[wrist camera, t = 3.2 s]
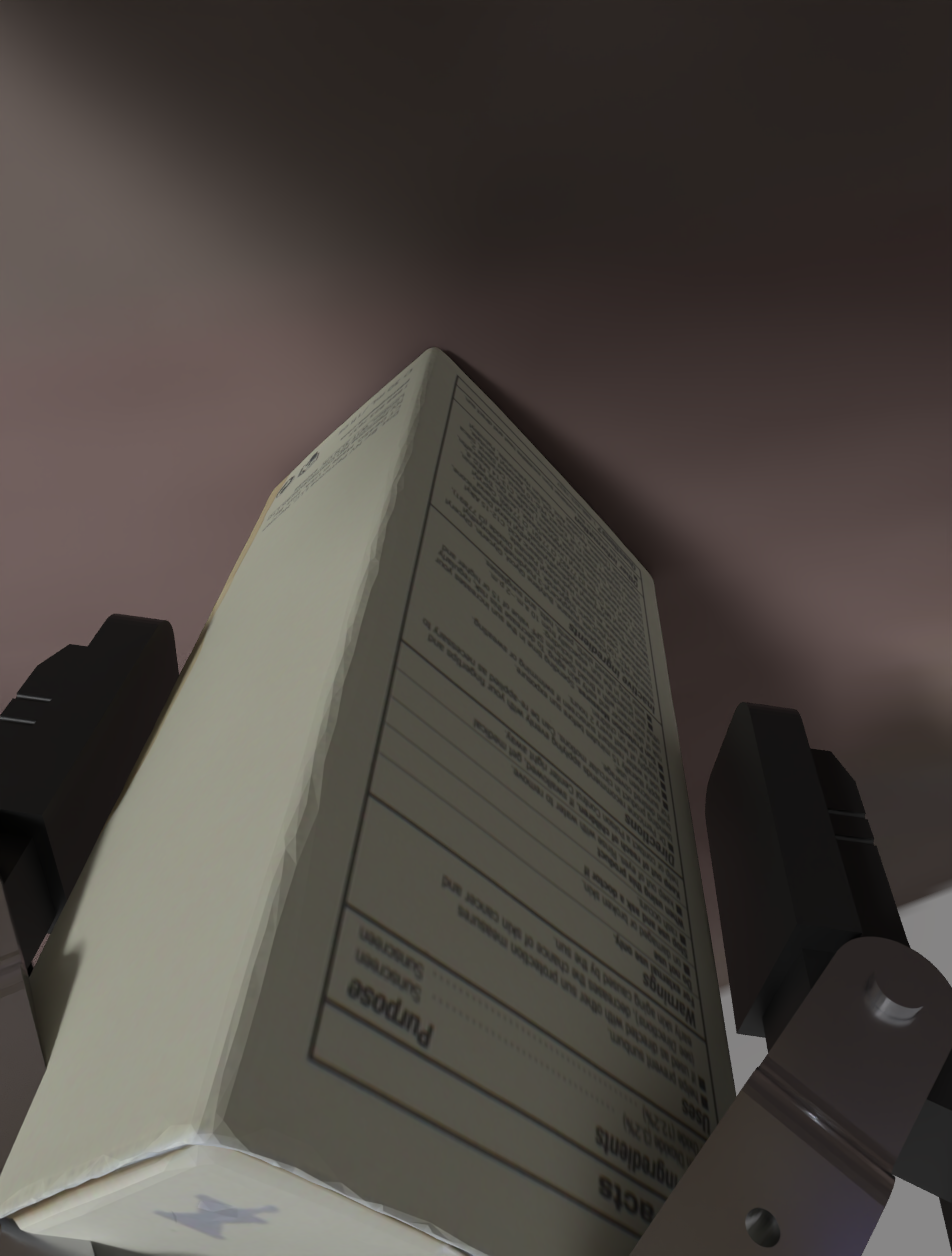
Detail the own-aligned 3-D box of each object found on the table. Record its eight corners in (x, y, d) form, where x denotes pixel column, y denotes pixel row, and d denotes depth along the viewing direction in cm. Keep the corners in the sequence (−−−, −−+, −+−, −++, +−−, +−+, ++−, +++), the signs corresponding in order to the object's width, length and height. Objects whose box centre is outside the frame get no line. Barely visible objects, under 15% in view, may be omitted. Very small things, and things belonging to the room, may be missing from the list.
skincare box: (268, 486, 16) (-176, 1271, 7) (445, 326, 14) (170, 1125, 5) (499, 693, 19) (417, 1479, 9) (677, 582, 17) (809, 1445, 7)
